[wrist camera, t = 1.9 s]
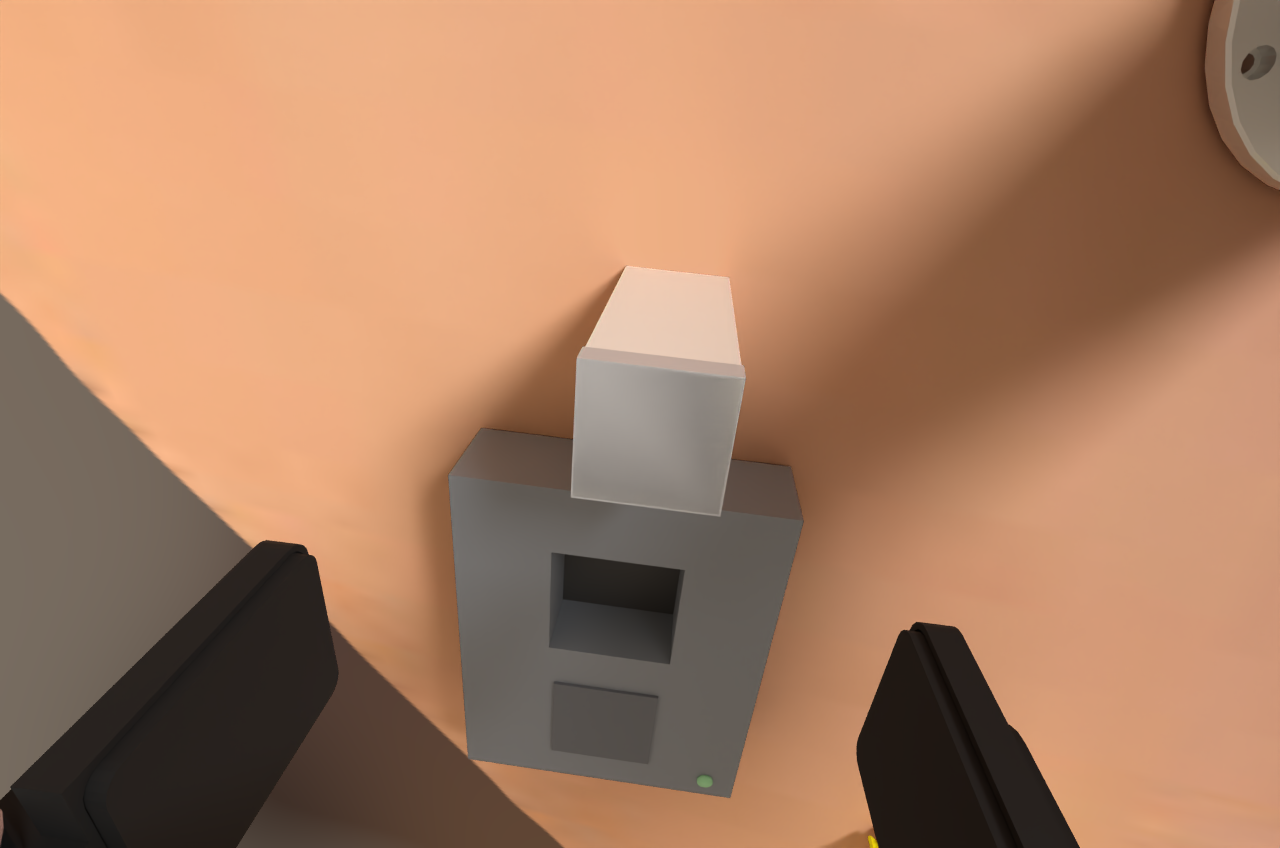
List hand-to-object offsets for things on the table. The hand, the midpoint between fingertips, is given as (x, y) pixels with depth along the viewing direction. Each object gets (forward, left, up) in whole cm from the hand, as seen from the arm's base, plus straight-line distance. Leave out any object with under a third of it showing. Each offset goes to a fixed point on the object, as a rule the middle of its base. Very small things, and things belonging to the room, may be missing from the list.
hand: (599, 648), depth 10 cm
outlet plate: (+15, -1, -17) cm, 22 cm away
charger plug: (0, 0, -17) cm, 17 cm away
